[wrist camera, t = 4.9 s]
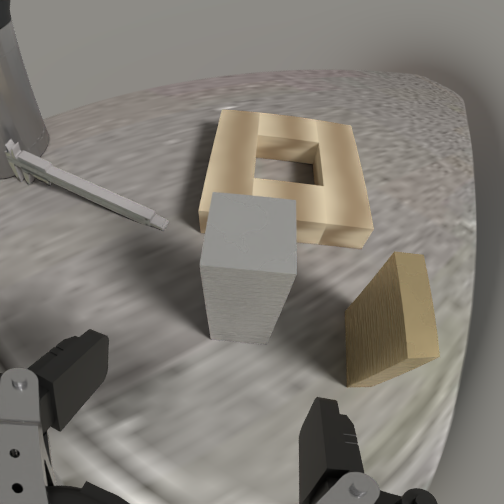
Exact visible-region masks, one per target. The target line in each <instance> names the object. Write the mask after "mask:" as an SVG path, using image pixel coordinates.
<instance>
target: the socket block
mask: <svg viewBox="0 0 504 504" xmlns="http://www.w3.org/2000/svg"><path fill="white" fill-rule="evenodd" d="M256 157H257V158H266V159H276V160H284V161H292V162H300V163H308V164H313V174H314V185H310V184H302V183H294V182H285V181H276V180H267V179H258V178H254V171H255V160H256ZM213 192H220V193H231V194H242V195H253V196H263V197H272V198H282V199H291V200H296V228H297V242H300V243H310V244H319V245H329V246H339V247H348V248H357V249H362V247H363V246H364V244H365V243H366V241H367V239H368V238H369V236H370V235H371V233H372V231H373V230H374V228H373V222H372V217H371V211H370V206H369V201H368V196H367V191H366V186H365V182H364V177H363V172H362V168H361V164H360V159H359V155H358V151H357V147H356V143H355V139H354V135H353V131H352V127H351V126H349V125H343V124H338V123H332V122H326V121H320V120H314V119H307V118H300V117H293V116H285V115H277V114H268V113H258V112H248V111H236V110H222V112H221V116H220V120H219V124H218V128H217V132H216V136H215V140H214V144H213V148H212V153H211V157H210V161H209V165H208V170H207V174H206V179H205V183H204V188H203V192H202V197H201V201H200V206H199V221H200V231H201V233H205V231H206V225H207V220H208V214H209V209H210V204H211V198H212V193H213Z"/></svg>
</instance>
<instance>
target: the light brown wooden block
mask: <svg viewBox="0 0 504 504" xmlns="http://www.w3.org/2000/svg"><path fill="white" fill-rule="evenodd" d="M345 329H346V367H347V387H372V386H375V385H377V384H380V383H382V382H385V381H387V380H389V379H392V378H394V377H397V376H399V375H401V374H404V373H406V372H408V371H410V370H413V369H415V368H417V367H419V366H421V365H424V364H426V363H428V362H430V361H432V360H434V359H436V358H438V357H440V354H439V345H438V336H437V329H436V321H435V314H434V308H433V302H432V296H431V290H430V285H429V279H428V274H427V269H426V264H425V260H424V255H420V254H411V253H402V252H394V253H393V254H392V255H391V257H390V258H389V259H388V260H387V262H386V263H385V264H384V265H383V267H382V268H381V269H380V270H379V272H378V273H377V274H376V275H375V277H374V278H373V279H372V280H371V281H370V283H369V284H368V285H367V286H366V287H365V289H364V290H363V291H362V292H361V293H360V295H359V296H358V297H357V298H356V299H355V300H354V302H353V303H352V304H351V305H350V306H349V307H348V309H347V310H346V311H345Z"/></svg>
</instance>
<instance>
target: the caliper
mask: <svg viewBox="0 0 504 504" xmlns="http://www.w3.org/2000/svg"><path fill="white" fill-rule="evenodd" d="M5 147H6V150H5V154H6V157H7V160H8V162H9V164H10V166H11V168H12V170H13V172H14V173H15V175H16V177H17V178H18V180H19V181H21V182H22V181H23V179H24V178H25V180H26V181H27V184H28V185H31V183H32V182H33V181H34V180H35V178H37V179H38V180H40V181H42V182H45V183H46V184H48V185H51V184H52V183H54V184H56V185H58V186H60V187H62V188H64V189H67V190H69V191H71V192H73V193H75V194H77V195H79V196H82V197H84V198H86V199H88V200H90V201H92V202H95V203H97V204H99V205H101V206H103V207H105V208H107V209H110V210H112V211H114V212H116V213H118V214H120V215H123V216H125V217H127V218H129V219H131V220H133V221H136V222H138V223H141V224H144V225H147V226H150V227H151V226H153V227H155V228H157V229H160V230H162V231H164V230H165V228H166V227H167V225H168V223H169V221H168V220H166V219H165V218H163V217H161V216H159V215H156V211H155V210H152V209H150V208H148V207H145V206H143V205H141V204H139V203H136V202H134V201H132V200H130V199H127V198H125V197H123V196H121V195H118V194H116V193H114V192H112V191H109V190H107V189H105V188H102V187H100V186H98V185H96V184H93V183H91V182H89V181H86V180H84V179H82V178H80V177H77V176H75V175H73V174H71V173H68V172H66V171H64V170H61V169H59V168H57V167H55V166H52V164H51V162H49V161H47V160H44V159H42V158H40V157H38V156H35V155H33V154H31V153H29V152H27V151H24V150H23V151H21V150H20V146H19V143H18V142H17V143H16V144H14V142H13V141H12V139H10V140H9V141H8V143H7V144H6V145H5Z"/></svg>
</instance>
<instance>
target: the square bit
mask: <svg viewBox="0 0 504 504" xmlns="http://www.w3.org/2000/svg"><path fill="white" fill-rule="evenodd" d="M200 272H201V279H202V286H203V293H204V299H205V306H206V312H207V319H208V325H209V331H210V337H211V340H219V341H229V342H240V343H252V344H264V345H267V343H268V341H269V338H270V336H271V334H272V332H273V329H274V327H275V325H276V322H277V320H278V318H279V315H280V313H281V311H282V308H283V306H284V304H285V301H286V299H287V296H288V294H289V292H290V289H291V287H292V285H293V282H294V280H295V277H296V275H297V228H296V200H291V199H282V198H272V197H263V196H253V195H242V194H231V193H220V192H213V193H212V198H211V204H210V209H209V214H208V220H207V225H206V231H205V236H204V242H203V248H202V254H201V259H200Z"/></svg>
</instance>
